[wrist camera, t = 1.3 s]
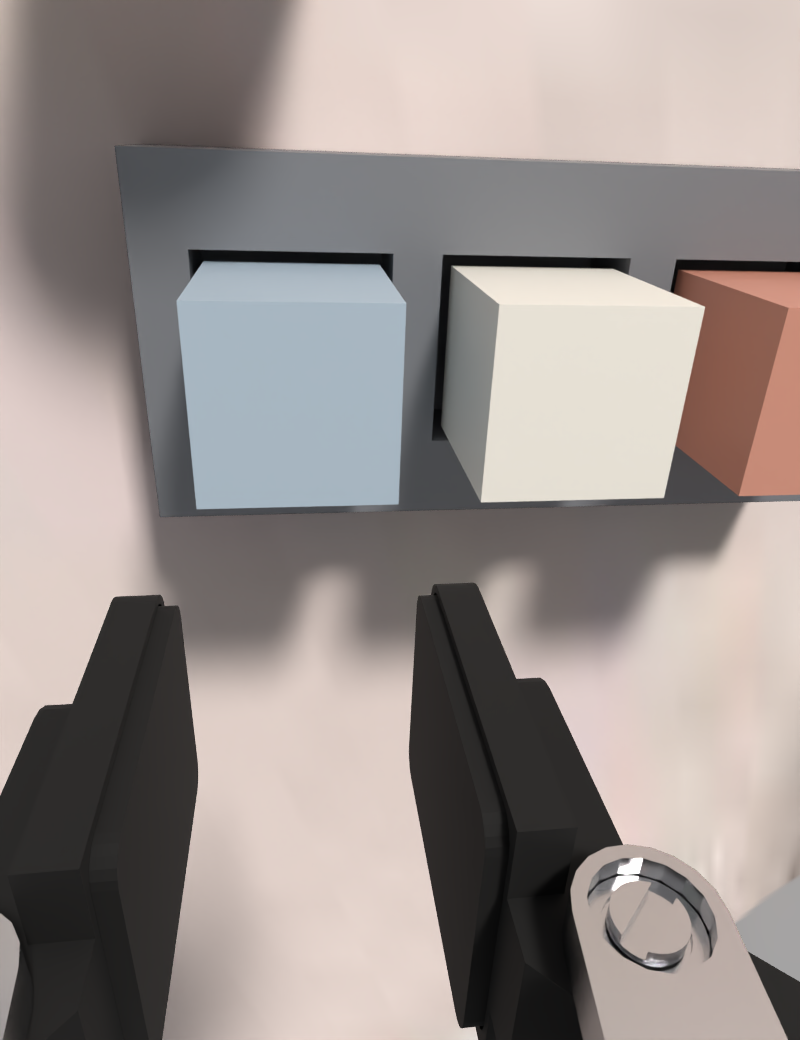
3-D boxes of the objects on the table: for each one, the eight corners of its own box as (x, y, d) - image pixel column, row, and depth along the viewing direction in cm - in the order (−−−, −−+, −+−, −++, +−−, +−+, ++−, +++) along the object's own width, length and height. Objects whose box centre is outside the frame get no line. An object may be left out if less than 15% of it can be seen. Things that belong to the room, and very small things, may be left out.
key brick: (826, 272, 27) (974, 309, 21) (784, 421, 29) (905, 492, 23) (678, 269, 26) (788, 307, 20) (648, 423, 28) (738, 496, 23)
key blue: (379, 264, 25) (406, 303, 19) (375, 426, 27) (398, 504, 21) (203, 260, 24) (176, 300, 18) (216, 427, 26) (196, 509, 21)
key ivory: (612, 268, 26) (705, 306, 20) (587, 423, 28) (663, 497, 22) (451, 265, 25) (499, 304, 19) (440, 425, 27) (480, 502, 22)
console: (846, 171, 29) (924, 176, 25) (765, 462, 34) (820, 500, 30) (139, 144, 25) (114, 146, 22) (175, 472, 31) (159, 516, 27)
